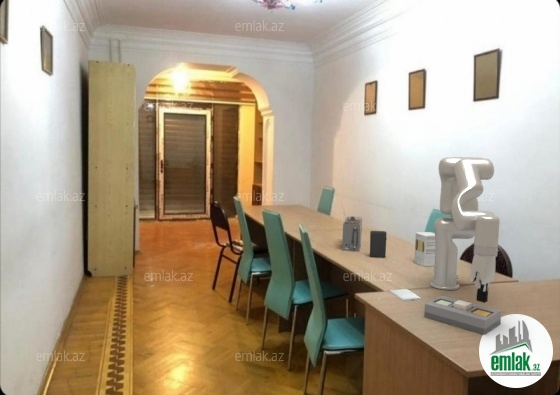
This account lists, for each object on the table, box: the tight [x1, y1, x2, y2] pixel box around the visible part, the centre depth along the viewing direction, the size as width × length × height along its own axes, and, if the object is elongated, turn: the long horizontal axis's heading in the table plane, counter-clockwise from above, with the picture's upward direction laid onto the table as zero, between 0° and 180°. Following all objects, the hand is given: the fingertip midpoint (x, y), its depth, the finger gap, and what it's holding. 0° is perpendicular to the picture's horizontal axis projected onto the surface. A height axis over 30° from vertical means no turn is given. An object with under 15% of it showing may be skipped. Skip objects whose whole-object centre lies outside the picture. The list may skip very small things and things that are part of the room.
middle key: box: [453, 299, 473, 311], centre depth 164 cm, size 5×5×2 cm
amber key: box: [473, 310, 491, 316], centre depth 159 cm, size 5×5×2 cm
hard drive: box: [389, 288, 423, 302], centre depth 191 cm, size 2×8×12 cm
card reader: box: [369, 230, 387, 259], centre depth 260 cm, size 9×4×15 cm, turn 80°
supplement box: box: [413, 231, 435, 268], centre depth 245 cm, size 10×9×17 cm
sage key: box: [436, 300, 453, 306], centre depth 169 cm, size 5×5×2 cm
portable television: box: [341, 203, 363, 252], centre depth 285 cm, size 12×24×30 cm, turn 167°
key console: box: [423, 295, 502, 336], centre depth 164 cm, size 14×22×5 cm, turn 44°
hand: (481, 301), depth 159 cm, fingers closed
